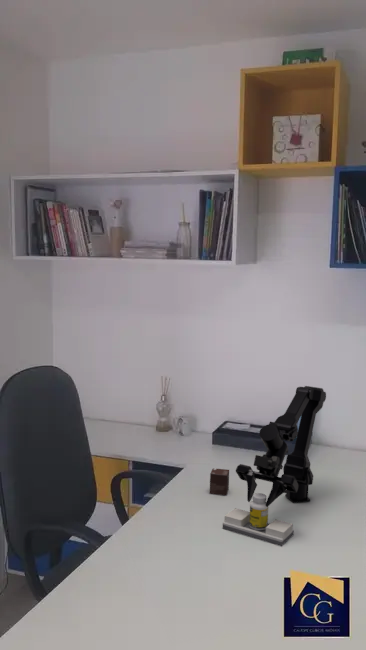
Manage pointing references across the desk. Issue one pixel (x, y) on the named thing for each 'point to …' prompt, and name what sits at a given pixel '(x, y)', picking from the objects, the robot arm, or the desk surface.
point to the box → (219, 481)
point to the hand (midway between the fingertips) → (257, 503)
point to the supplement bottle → (258, 512)
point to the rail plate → (273, 533)
